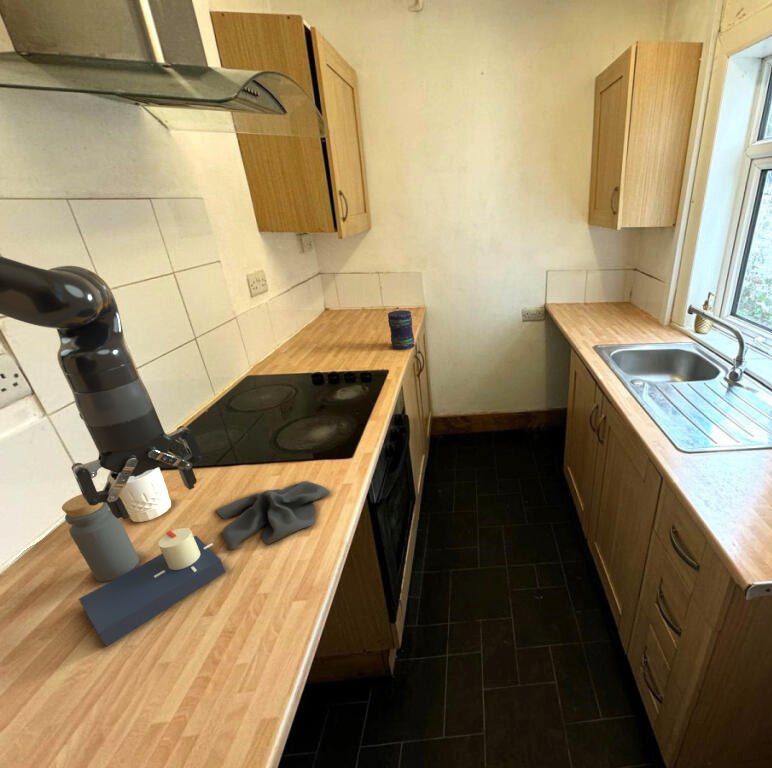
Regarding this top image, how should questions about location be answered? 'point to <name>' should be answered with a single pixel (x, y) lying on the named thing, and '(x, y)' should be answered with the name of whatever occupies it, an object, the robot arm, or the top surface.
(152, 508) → the white cup
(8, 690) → the top surface
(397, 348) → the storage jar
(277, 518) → the cloth
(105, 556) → the bottle
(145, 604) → the panel
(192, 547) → the knob
